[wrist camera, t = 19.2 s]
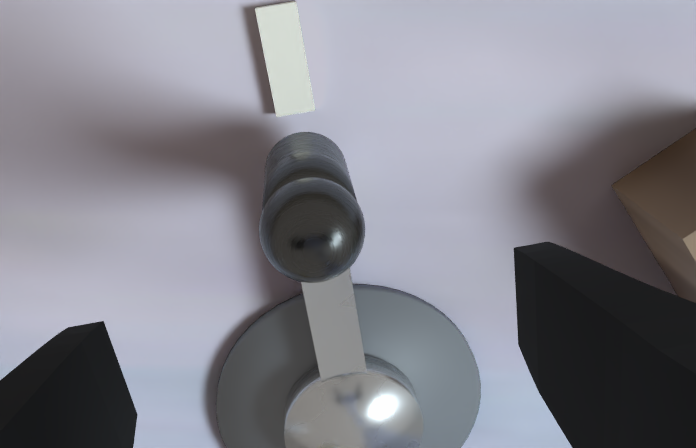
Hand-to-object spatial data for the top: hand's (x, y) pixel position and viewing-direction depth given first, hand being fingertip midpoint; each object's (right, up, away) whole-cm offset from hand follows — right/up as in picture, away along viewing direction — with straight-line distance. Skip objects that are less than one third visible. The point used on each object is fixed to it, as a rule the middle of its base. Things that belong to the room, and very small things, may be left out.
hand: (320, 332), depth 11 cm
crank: (0, -1, +11) cm, 11 cm away
